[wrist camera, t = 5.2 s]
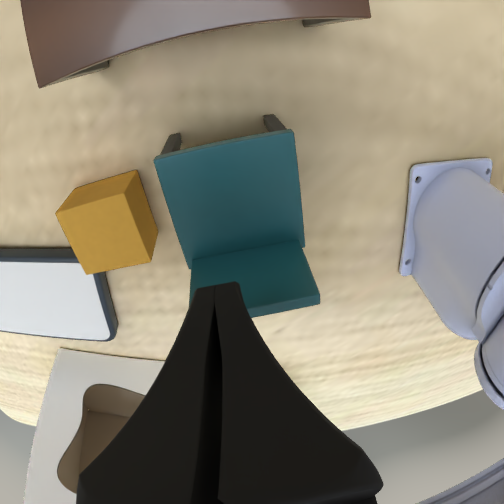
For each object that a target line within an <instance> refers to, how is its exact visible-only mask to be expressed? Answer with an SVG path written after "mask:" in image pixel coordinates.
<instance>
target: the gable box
mask: <svg viewBox="0 0 504 504" xmlns="http://www.w3.org/2000/svg"><path fill="white" fill-rule="evenodd" d="M164 363H165V361H156V360H146V359H136V358H126V357H118V356H110V355H102V354H95V353H88V352H81V351H75V350H69V349H63V348H60V349H58V351H57V355H56V358H55V361H54V364H53V367H52V370H51V374H50V377H49V380H48V384H47V387H46V391H45V394H44V398H43V402H42V406H41V410H40V414H39V418H38V422H37V426H36V431H35V435H34V440H33V444H32V449H31V455H30V460H29V466H28V472H27V478H26V485H25V492H24V500H23V504H76V496H77V484H78V479H79V474H80V473H81V472H82V471H83V470H84V469H85V468H86V467H87V466H88V465H89V464H90V463H91V462H92V461H93V460H94V459H95V458H96V457H97V456H98V455H99V454H100V453H101V452H102V451H103V450H104V449H105V448H106V447H107V446H108V445H109V443H110V442H111V441H112V440H113V438H114V437H115V436H116V435H117V434H118V432H119V431H120V430H121V429H122V427H123V426H124V425H125V424H126V423H127V421H128V420H129V419H130V417H131V416H132V415H133V413H134V412H135V410H136V409H137V407H138V406H139V404H140V403H141V401H142V400H143V398H144V397H145V396H146V394H147V392H148V391H149V389H150V387H151V386H152V384H153V383H154V381H155V379H156V377H157V376H158V374H159V372H160V370H161V368H162V367H163V365H164ZM88 409H89V410H88Z"/></svg>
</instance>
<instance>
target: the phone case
mask: <svg viewBox="0 0 504 504" xmlns="http://www.w3.org/2000/svg"><path fill="white" fill-rule="evenodd" d="M117 328H118V323H117V319H116V316H115V312H114V309H113V305H112V301H111V297H110V293H109V289H108V285H107V281H106V277H105V272H99V273H94V274H89V275H86V274H85V272H84V270H83V268H82V266H81V264H80V262H79V261H78V259H77V257H76V255H75V253H74V251H73V249H0V331H2V332H9V333H17V334H25V335H33V336H43V337H52V338H63V339H75V340H88V341H110V340H112V339H114V338H115V336H116V332H117Z"/></svg>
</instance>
